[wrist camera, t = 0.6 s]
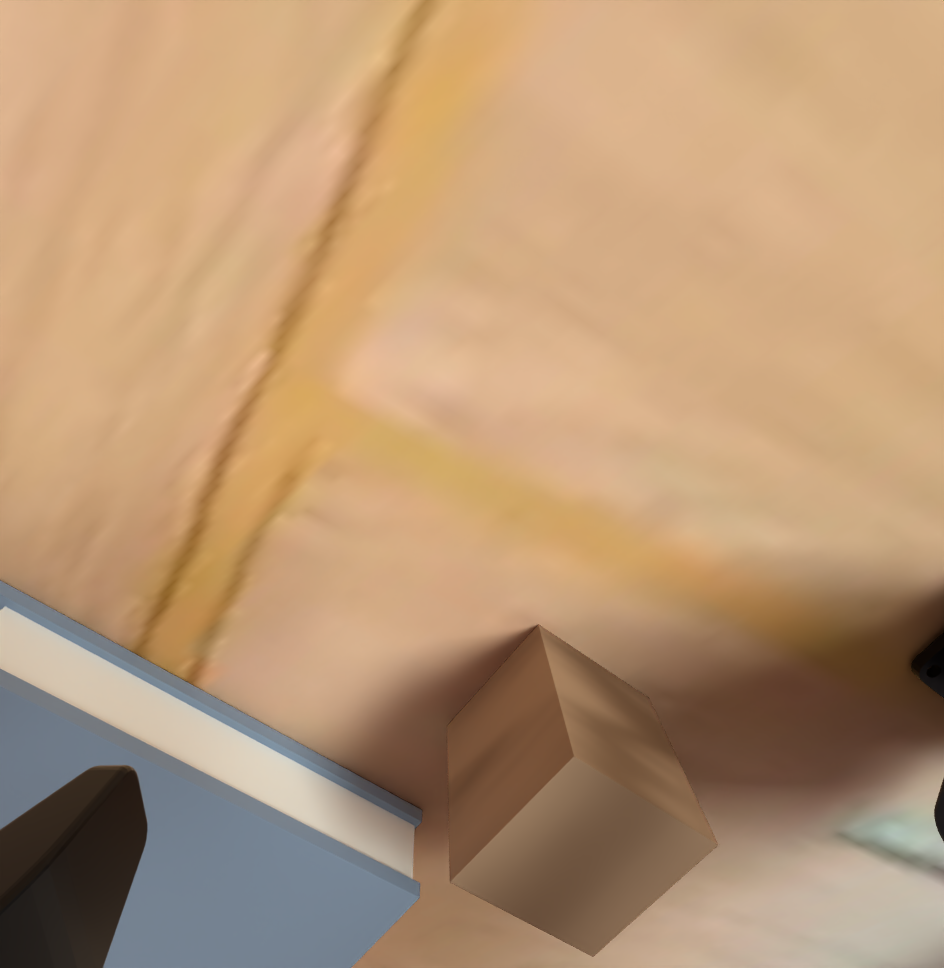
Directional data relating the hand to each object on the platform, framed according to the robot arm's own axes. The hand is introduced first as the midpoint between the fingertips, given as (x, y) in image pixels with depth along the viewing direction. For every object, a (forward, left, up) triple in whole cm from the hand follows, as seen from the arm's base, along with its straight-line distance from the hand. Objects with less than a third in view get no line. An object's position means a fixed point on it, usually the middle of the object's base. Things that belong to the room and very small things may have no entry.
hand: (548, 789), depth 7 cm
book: (+1, +18, -13) cm, 22 cm away
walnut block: (-8, +6, -13) cm, 16 cm away
